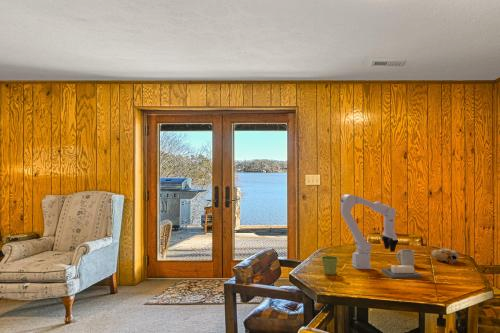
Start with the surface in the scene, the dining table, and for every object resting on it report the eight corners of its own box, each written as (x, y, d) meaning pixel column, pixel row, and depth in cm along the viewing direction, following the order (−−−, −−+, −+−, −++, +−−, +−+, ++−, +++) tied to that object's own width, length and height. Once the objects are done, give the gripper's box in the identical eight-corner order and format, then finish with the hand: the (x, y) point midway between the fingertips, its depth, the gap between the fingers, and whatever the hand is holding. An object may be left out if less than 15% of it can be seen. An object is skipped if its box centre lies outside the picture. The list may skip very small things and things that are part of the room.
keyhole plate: (391, 278, 178) (391, 275, 178) (381, 271, 190) (381, 268, 190) (421, 277, 179) (421, 274, 179) (409, 271, 191) (409, 268, 191)
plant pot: (329, 277, 181) (328, 260, 181) (317, 272, 189) (317, 256, 189) (342, 274, 185) (342, 258, 185) (330, 270, 194) (330, 255, 194)
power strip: (394, 276, 181) (393, 266, 181) (391, 274, 185) (390, 264, 185) (414, 276, 181) (414, 266, 182) (410, 274, 185) (410, 264, 185)
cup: (412, 267, 198) (411, 252, 198) (394, 264, 205) (394, 249, 205) (415, 265, 203) (415, 250, 204) (398, 262, 210) (398, 247, 210)
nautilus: (462, 269, 197) (433, 267, 203) (457, 258, 216) (431, 257, 222) (461, 255, 197) (432, 254, 203) (456, 246, 216) (430, 245, 222)
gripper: (401, 229, 193) (402, 252, 193) (390, 225, 208) (391, 247, 207) (389, 229, 193) (389, 253, 193) (379, 225, 207) (379, 247, 207)
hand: (389, 250), depth 200 cm, fingers open, 7 cm apart
